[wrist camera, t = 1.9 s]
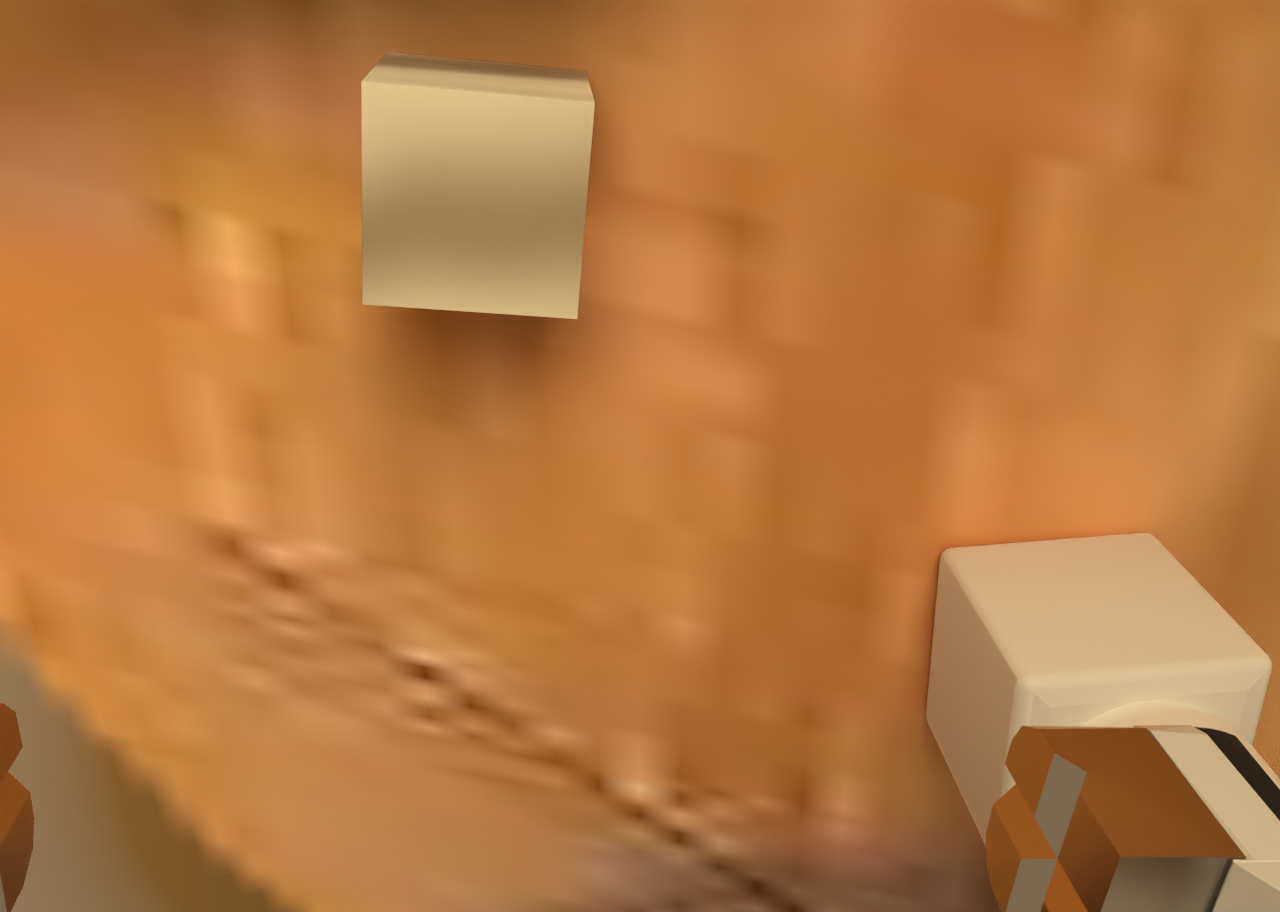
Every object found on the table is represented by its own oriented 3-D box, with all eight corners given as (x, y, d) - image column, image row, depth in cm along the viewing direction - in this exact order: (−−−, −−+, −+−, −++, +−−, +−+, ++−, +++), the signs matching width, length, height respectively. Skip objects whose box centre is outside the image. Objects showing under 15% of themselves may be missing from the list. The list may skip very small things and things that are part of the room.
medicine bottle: (922, 719, 40) (1063, 1024, 29) (937, 544, 37) (1102, 815, 26) (1120, 701, 40) (1331, 996, 30) (1152, 527, 37) (1403, 787, 26)
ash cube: (388, 51, 29) (361, 81, 24) (585, 69, 29) (594, 102, 25) (387, 244, 31) (362, 304, 27) (571, 258, 32) (577, 318, 27)
